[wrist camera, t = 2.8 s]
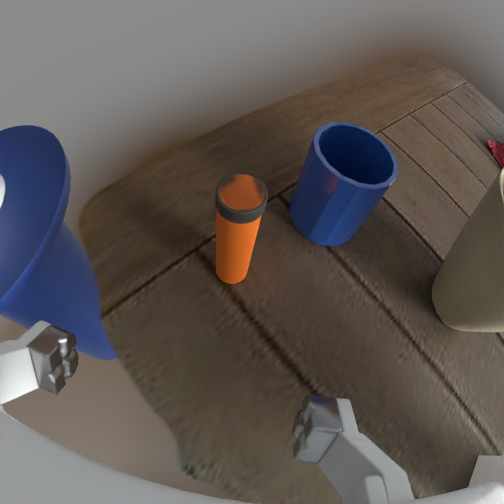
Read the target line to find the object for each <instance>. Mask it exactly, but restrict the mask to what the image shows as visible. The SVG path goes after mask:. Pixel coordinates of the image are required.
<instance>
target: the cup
mask: <svg viewBox="0 0 504 504" xmlns="http://www.w3.org/2000/svg"><path fill="white" fill-rule="evenodd" d="M397 174H398V164H397V161H396V158H395V156H394V153H393V152H392V151H391V149H390V148H389V147H388V146H387V144H386V143H385V142H384V141H383V140H382V139H381V138H379V137H378V136H377V135H375V134H374V133H373V132H371V131H369V130H367V129H365V128H363V127H361V126H358V125H356V124H351V123H346V122H332V123H327V124H325V125H323V126H322V127H320V128H319V129H317V131H316V133H315V135H314V138H313V140H312V143H311V146H310V149H309V151H308V154H307V157H306V160H305V162H304V165H303V168H302V171H301V174H300V176H299V179H298V182H297V185H296V187H295V190H294V193H293V196H292V198H291V202H290V216H291V219H292V221H293V223H294V225H295V227H296V228H297V229H298V231H299V232H300V233H301V234H302V235H304V236H305V237H306V238H308V239H309V240H311V241H313V242H315V243H318V244H321V245H326V246H336V245H341V244H343V243H346V242H347V241H349V240H350V239H351V238H352V237H353V236H354V234H355V233H356V232H357V231H358V230H359V229H360V227H361V226H362V225H363V223H364V222H365V221H366V219H367V218H368V217H369V215H370V214H371V213H372V211H373V210H374V209H375V207H376V206H377V205H378V203H379V202H380V201H381V199H382V198H383V197H384V195H385V194H386V192H387V191H388V190H389V188H390V187H391V185H392V184H393V183H394V181H395V180H396V179H397Z"/></svg>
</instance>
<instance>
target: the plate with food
mask: <svg viewBox="0 0 504 504" xmlns="http://www.w3.org/2000/svg"><path fill="white" fill-rule="evenodd" d="M488 143H489V147H490V148H492V151H493V152H494V153H492V154H493V155H494V156H495V158H496V159H497V160H498V162H499V163H500V165H501V166H502V168H504V144H500V143H499V142H494V143H493V142H492V141H491V140H488Z"/></svg>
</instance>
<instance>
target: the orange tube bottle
mask: <svg viewBox="0 0 504 504" xmlns="http://www.w3.org/2000/svg"><path fill="white" fill-rule="evenodd" d="M267 198H268V192H267V188H266V186H265V185H264V183H263V182H262V181H261V180H260V179H259V178H257V177H256V176H254V175H251V174H248V173H233V174H230V175H228V176H226V177H224V178H223V179H222V180H221V181H220V182H219V183H218V185H217V188H216V208H217V225H216V273H217V276H218V277H219V278H220V279H221V280H222V281H223V282H225V283H229V284H235V283H238V282H240V281H242V280H243V279H244V278H245V276H246V274H247V271H248V267H249V263H250V259H251V255H252V251H253V247H254V243H255V239H256V235H257V231H258V227H259V223H260V219H261V215H262V214H263V212H264V210H265V206H266V202H267Z"/></svg>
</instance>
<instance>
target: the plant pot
mask: <svg viewBox="0 0 504 504" xmlns="http://www.w3.org/2000/svg"><path fill="white" fill-rule="evenodd" d="M432 300H433V305H434V308H435V311H436V313H437V314H438V316H439V318H440V319H441V320H442V322H443V323H444V324H446V325H447V326H448V327H450V328H453V329H457V330H464V331H474V332H504V168H503V169H502V170H501V172H500V173H499V175H498V176H497V178H496V179H495V181H494V182H493V184H492V185H491V187H490V188H489V190H488V191H487V192H486V194H485V195H484V197H483V198H482V200H481V201H480V203H479V204H478V206H477V207H476V209H475V210H474V212H473V213H472V215H471V216H470V218H469V220H468V221H467V223H466V224H465V226H464V228H463V229H462V231H461V232H460V234H459V236H458V237H457V239H456V241H455V242H454V244H453V246H452V248H451V249H450V251H449V253H448V255H447V256H446V258H445V260H444V262H443V264H442V266H441V268H440V270H439V272H438V274H437V276H436V278H435V280H434V282H433V286H432Z"/></svg>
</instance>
